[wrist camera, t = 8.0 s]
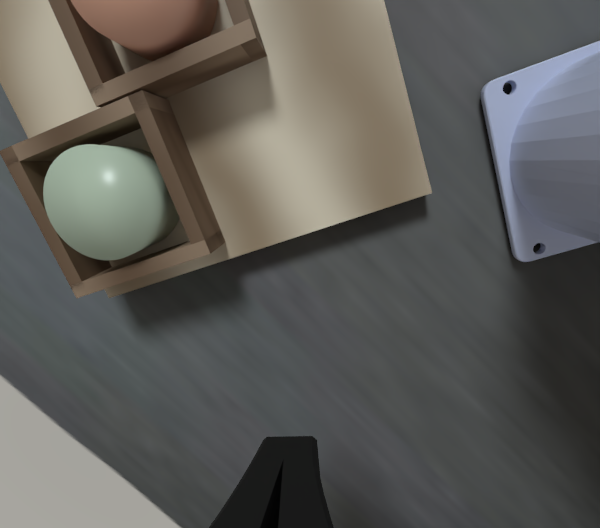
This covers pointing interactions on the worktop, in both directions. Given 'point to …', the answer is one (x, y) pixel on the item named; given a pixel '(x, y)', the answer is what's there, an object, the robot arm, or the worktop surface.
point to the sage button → (108, 200)
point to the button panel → (218, 125)
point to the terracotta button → (150, 23)
